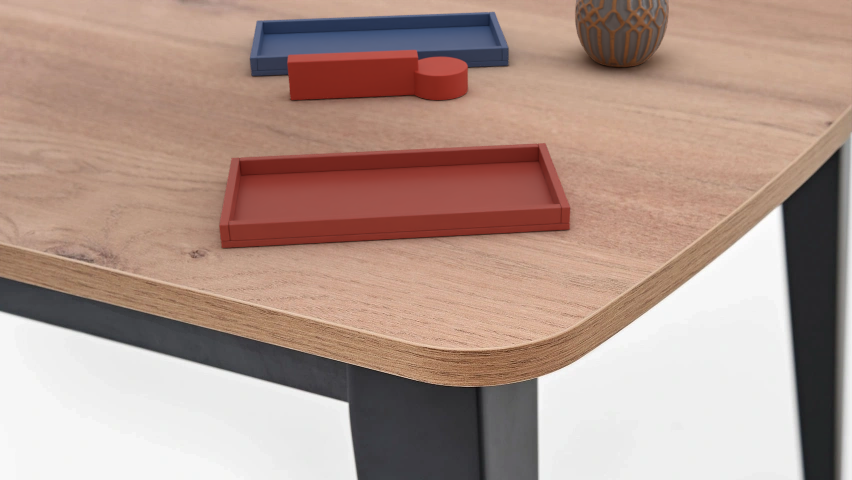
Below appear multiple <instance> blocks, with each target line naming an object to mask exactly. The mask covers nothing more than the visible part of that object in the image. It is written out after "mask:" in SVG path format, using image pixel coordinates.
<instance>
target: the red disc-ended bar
mask: <svg viewBox="0 0 852 480" xmlns="http://www.w3.org/2000/svg"><path fill="white" fill-rule="evenodd" d="M287 65H288V75H287V76H288V87H289V99H290V100H291V101H302V100H305V101H306V100H322V99H323V100H326V99H327V100H328V99H349V98H371V97H375V98H376V97H396V96H397V97H398V96H416V97H418V98H421V99H424V100H430V101H447V100H454V99H458V98H460V97H462V96H465V95H466V94H467V93H468V91H469V69H468V68H469V67H468V65H467V64H466V62H464V61H462V60H460V59H456V58H451V57H430V58H424V59H421V60H418V54H417V50H399V51H374V52H349V53H324V54H299V55H288V61H287Z"/></svg>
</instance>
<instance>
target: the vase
mask: <svg viewBox="0 0 852 480" xmlns="http://www.w3.org/2000/svg"><path fill="white" fill-rule="evenodd" d="M669 3H670V2H669V0H575V8H574V22H575V29H576V34H577V38H578V40H579V43H580V45H581V47H582V48H583V50H584V52H585V53H587V55H588V57H590V58H591V59H592V60H593V61H594V62H595V63H597V64H600V65H602V66H607V67H612V68H613V67H614V68H629V67H635V66H639V65H642V64H644V63H645V62H647V60H649V59H650V58H651V57H652V56H653V55H654V54H655V53H656V52H657V50H658V49H659V48H660V46H661V44H662V42H663V40H664V37H665V35H666V32H667V28H668V23H669V16H670V15H669V14H670V5H669Z"/></svg>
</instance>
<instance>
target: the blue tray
mask: <svg viewBox="0 0 852 480" xmlns="http://www.w3.org/2000/svg"><path fill="white" fill-rule="evenodd" d="M399 50H417V54H418V60H421V59H424V58H430V57H451V58H456V59H460V60H462V61H464V62H466V64H467V65H468V68H479V67H504V66H509V65H510V64H509V62H510V61H509V59H510V54H509V53H510V49H509V45H508V43H507V40H506V37H505V34H504V32H503V29H502V28H501V23H500V22H499V20H498V17H497V14H496V11H480V12H479V11H478V12H477V11H476V12H475V11H474V12H452V13H451V12H450V13H425V14H399V15H398V14H395V15H373V16H372V15H371V16H370V15H369V16H368V15H367V16H345V17H343V16H341V17H318V18H317V17H316V18H291V19H266V20H265V19H264V20H262V19H261V20H256V23H255V27H254V33H253V39H252V44H251V49H250V56H249V64H250V73H251V77H260V76H261V77H263V76H286V75H287V76H288V65H287V61H288V55H299V54H324V53H349V52H374V51H399Z"/></svg>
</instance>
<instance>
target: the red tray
mask: <svg viewBox="0 0 852 480" xmlns="http://www.w3.org/2000/svg"><path fill="white" fill-rule="evenodd" d="M570 227H571V206H570V203H569V200H568V198H567V196H566V193H565V189H564V187H563V185H562V182H561V180H560V178H559V175H558V172H557V170H556V166H555V164H554V161H553V159H552V156H551V154H550V151H549V149H548V146H547V143H546V142H540V143H539V142H538V143H519V144H516V143H515V144H496V145H495V144H494V145H476V146H453V147H434V148H430V147H429V148H410V149H390V150H389V149H388V150H387V149H386V150H371V151H370V150H369V151H368V150H367V151H348V152H325V153H310V154H309V153H305V154H303V153H301V154H284V155H283V154H282V155H281V154H280V155H261V156H240V157H231V159H230V164H229V169H228V175H227V181H226V186H225V191H224V198H223V201H222V208H221V213H220V218H219V223H218V228H219V229H218V230H219V235H220V236H219V237H220V245H221V248H222V249H224V248H225V249H227V248H228V249H229V248H247V247H248V248H249V247H266V246H283V245H284V246H285V245H305V244H321V243H342V242H359V241H360V242H361V241H362V242H363V241H377V240H379V241H380V240H395V239H397V240H398V239H415V238H416V239H417V238H434V237H452V236H453V237H454V236H470V235H489V234H491V235H492V234H507V233H508V234H509V233H528V232H546V231H547V232H548V231H566V230H570Z"/></svg>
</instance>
